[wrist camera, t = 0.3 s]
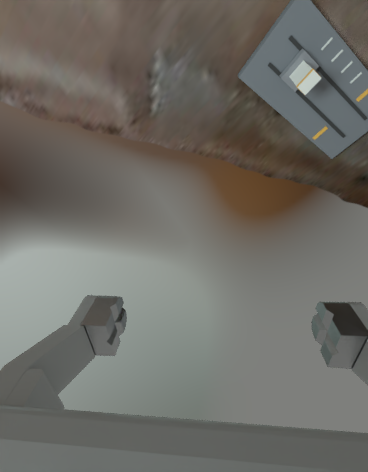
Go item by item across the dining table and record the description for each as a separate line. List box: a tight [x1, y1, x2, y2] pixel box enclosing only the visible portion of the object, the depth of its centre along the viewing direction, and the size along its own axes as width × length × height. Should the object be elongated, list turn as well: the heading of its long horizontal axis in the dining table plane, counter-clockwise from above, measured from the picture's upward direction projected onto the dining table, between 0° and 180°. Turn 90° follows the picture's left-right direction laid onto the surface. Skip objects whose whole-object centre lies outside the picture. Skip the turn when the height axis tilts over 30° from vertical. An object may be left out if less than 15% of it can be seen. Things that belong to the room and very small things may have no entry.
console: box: [238, 0, 368, 159], centre depth 47 cm, size 14×30×2 cm, turn 57°
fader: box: [280, 48, 321, 95], centre depth 41 cm, size 5×4×8 cm
